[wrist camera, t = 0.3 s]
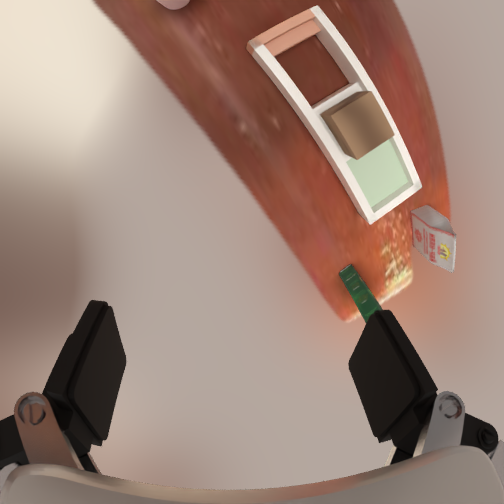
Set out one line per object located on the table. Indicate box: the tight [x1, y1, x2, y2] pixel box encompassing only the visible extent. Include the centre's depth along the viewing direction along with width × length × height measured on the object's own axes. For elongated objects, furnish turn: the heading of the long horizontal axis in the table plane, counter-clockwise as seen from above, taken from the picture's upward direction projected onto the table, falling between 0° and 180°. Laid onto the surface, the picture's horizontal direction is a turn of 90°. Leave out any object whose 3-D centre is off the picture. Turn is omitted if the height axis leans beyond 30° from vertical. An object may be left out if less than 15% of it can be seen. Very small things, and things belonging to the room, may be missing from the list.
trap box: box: [246, 5, 422, 224], centre depth 31 cm, size 10×28×4 cm, turn 36°
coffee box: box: [339, 264, 383, 323], centre depth 41 cm, size 8×3×13 cm, turn 40°
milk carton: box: [410, 205, 456, 273], centre depth 38 cm, size 4×7×10 cm, turn 20°
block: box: [320, 91, 395, 160], centre depth 29 cm, size 6×6×4 cm
